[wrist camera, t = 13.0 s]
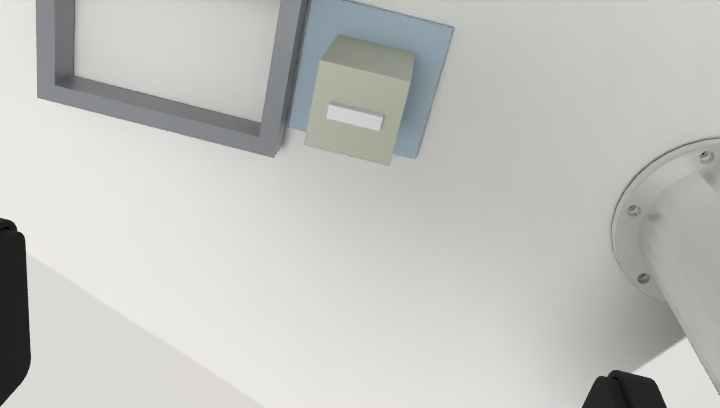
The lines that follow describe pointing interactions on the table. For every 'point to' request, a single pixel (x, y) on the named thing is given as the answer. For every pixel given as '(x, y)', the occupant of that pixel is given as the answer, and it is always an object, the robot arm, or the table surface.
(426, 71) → the pad
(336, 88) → the block
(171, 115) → the case
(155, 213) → the table surface
